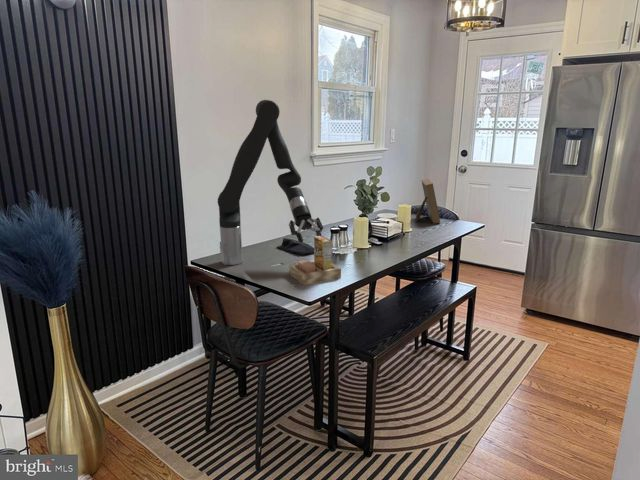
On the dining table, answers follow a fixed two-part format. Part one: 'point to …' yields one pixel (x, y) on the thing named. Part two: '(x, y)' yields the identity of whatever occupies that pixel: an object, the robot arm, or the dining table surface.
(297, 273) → the wooden compartment tray
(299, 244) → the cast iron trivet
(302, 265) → the reddish brown block
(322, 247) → the candy box
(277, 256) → the dining table surface
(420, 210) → the photo frame
